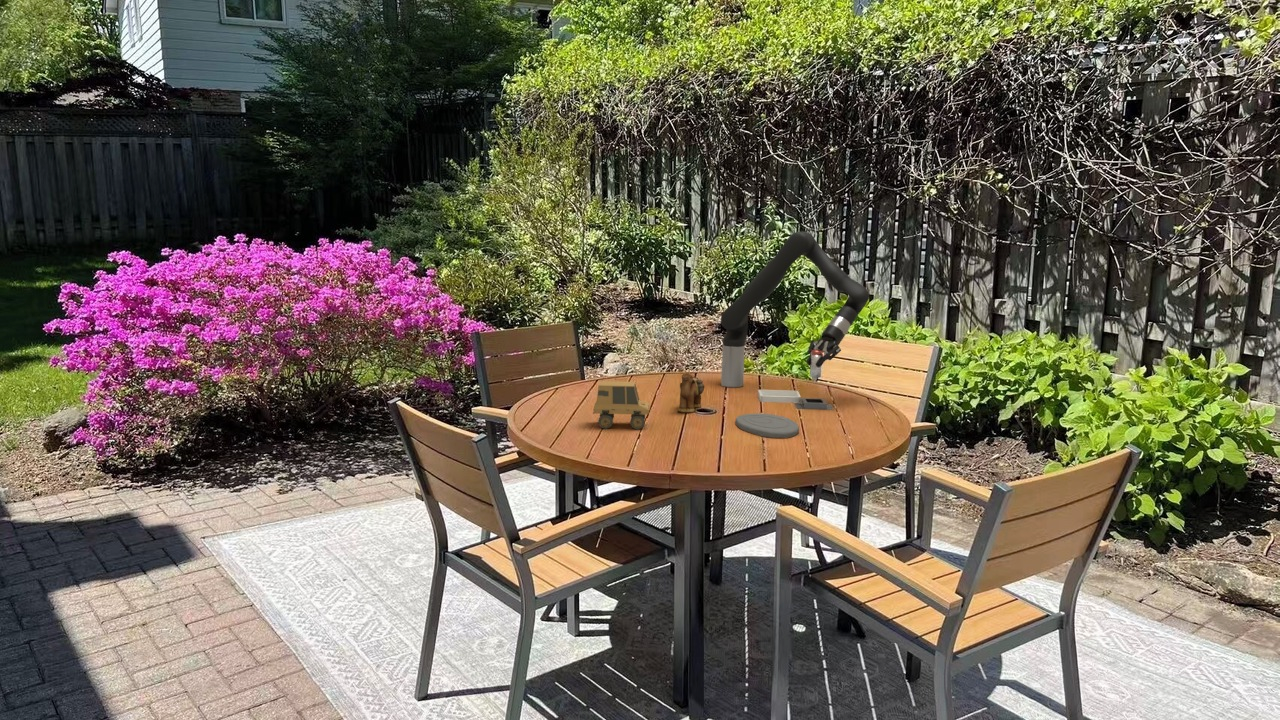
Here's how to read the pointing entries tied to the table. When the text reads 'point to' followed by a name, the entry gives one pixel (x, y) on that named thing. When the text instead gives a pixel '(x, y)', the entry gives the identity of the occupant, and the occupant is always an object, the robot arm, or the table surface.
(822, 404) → the hitch
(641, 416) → the toy car
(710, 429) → the table surface
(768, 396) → the tray
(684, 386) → the figurine
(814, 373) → the pin
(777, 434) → the frisbee
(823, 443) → the table surface
